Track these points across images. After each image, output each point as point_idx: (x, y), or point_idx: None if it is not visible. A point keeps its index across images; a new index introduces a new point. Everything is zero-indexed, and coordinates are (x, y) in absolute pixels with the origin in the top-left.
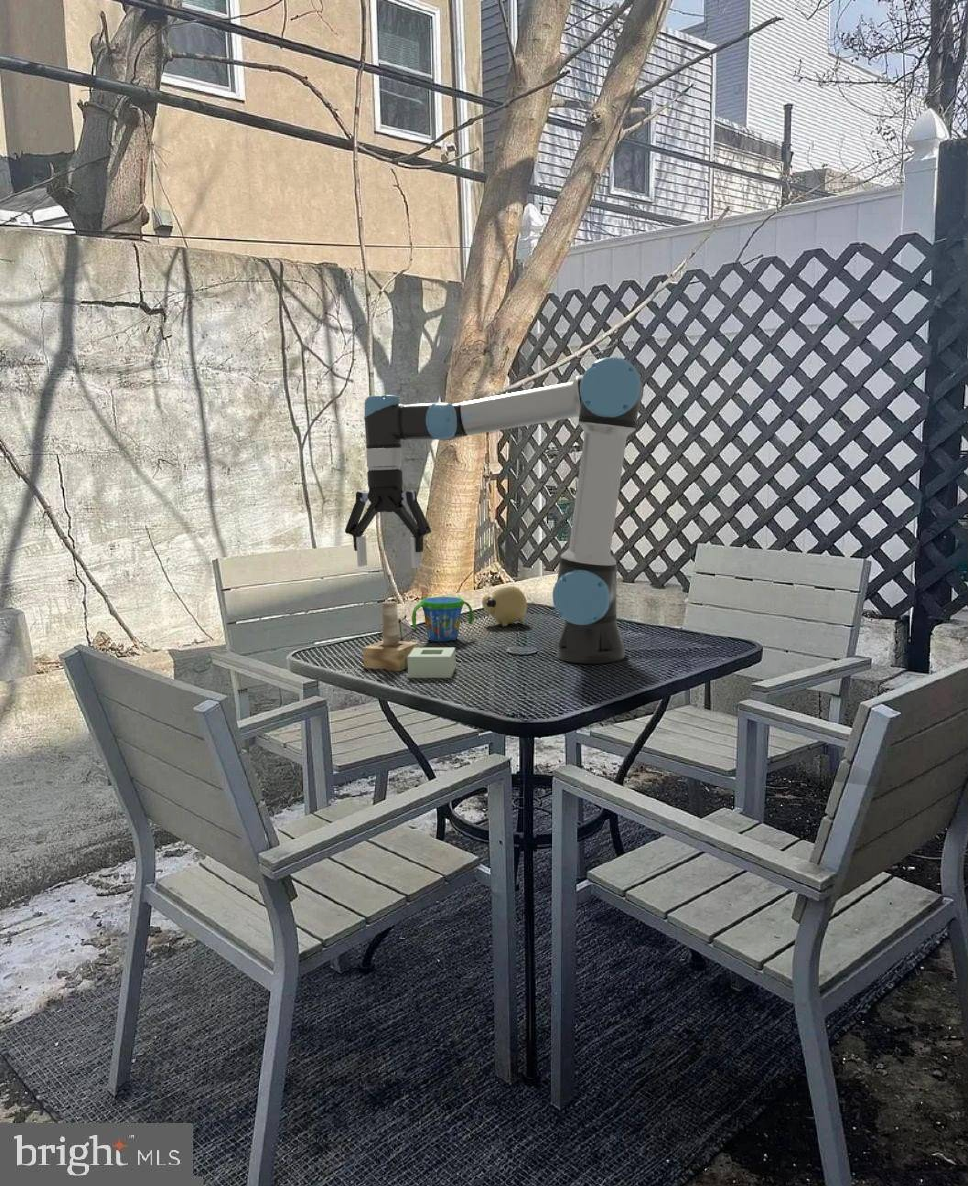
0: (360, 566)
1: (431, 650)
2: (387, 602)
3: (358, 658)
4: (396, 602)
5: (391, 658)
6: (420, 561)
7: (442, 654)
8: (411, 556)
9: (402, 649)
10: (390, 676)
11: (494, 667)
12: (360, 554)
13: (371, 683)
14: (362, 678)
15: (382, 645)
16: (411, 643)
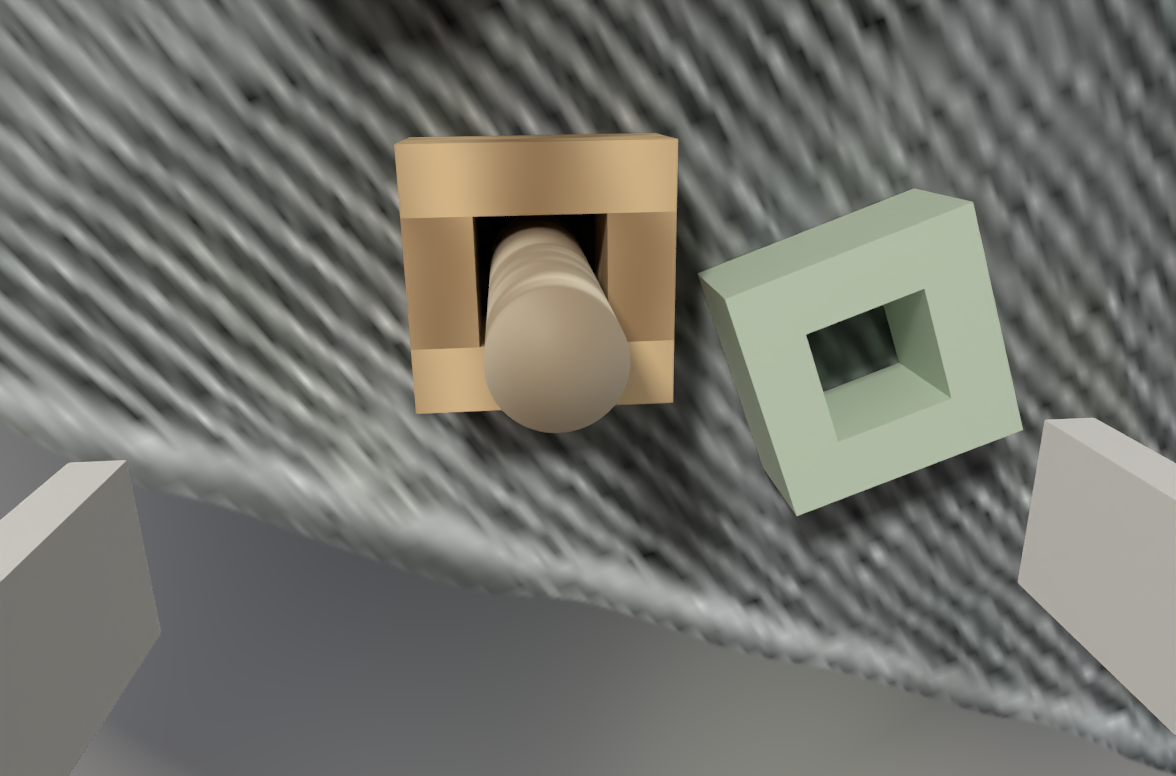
0: (155, 631)
1: (852, 314)
2: (527, 353)
3: (234, 175)
4: (612, 326)
5: None
6: (1145, 451)
7: (963, 401)
8: (1128, 686)
9: (673, 358)
10: (664, 474)
11: (1118, 98)
12: (71, 755)
13: (647, 609)
14: (554, 554)
15: (476, 285)
16: (645, 188)
